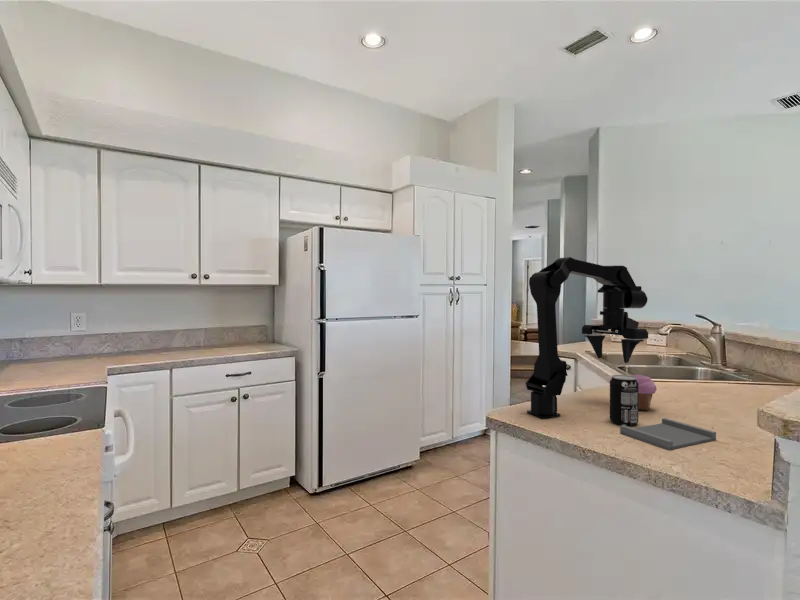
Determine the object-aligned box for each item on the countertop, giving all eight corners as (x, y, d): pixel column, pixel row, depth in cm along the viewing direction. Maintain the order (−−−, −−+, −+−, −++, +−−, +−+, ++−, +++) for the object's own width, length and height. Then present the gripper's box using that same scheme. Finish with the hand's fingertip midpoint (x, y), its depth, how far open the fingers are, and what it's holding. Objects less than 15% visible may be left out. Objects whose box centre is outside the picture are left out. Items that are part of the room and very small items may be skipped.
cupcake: (658, 414, 117) (658, 378, 117) (623, 410, 120) (623, 376, 120) (653, 406, 125) (653, 372, 125) (620, 403, 128) (620, 370, 128)
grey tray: (669, 450, 90) (669, 441, 90) (620, 433, 101) (620, 425, 101) (716, 439, 96) (716, 432, 96) (665, 425, 107) (665, 417, 107)
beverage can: (614, 417, 114) (614, 373, 113) (641, 422, 109) (641, 376, 109) (605, 422, 109) (606, 376, 109) (633, 428, 104) (633, 380, 104)
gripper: (662, 309, 119) (660, 364, 119) (606, 307, 136) (605, 355, 137) (634, 309, 115) (633, 366, 115) (581, 307, 132) (580, 356, 132)
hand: (612, 360), depth 125 cm, fingers open, 9 cm apart
